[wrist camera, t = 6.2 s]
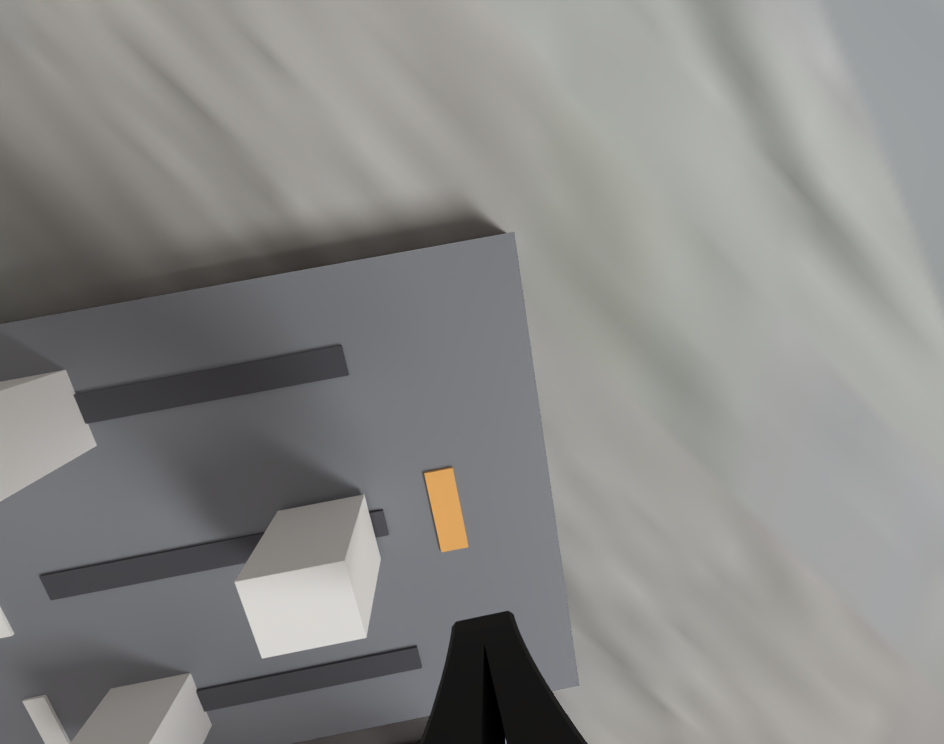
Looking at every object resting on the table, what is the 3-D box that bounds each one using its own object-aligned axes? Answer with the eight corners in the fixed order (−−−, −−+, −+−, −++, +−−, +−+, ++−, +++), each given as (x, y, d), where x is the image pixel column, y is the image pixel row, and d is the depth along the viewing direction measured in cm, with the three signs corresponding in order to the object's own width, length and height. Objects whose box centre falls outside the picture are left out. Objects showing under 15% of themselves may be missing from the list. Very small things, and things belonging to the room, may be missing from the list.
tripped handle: (380, 558, 17) (366, 637, 14) (297, 574, 17) (261, 658, 13) (364, 494, 16) (344, 560, 13) (277, 510, 16) (234, 581, 13)
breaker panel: (569, 655, 21) (610, 780, 16) (18, 766, 20) (-116, 932, 15) (507, 233, 16) (537, 226, 11) (-211, 361, 16) (-511, 414, 11)
